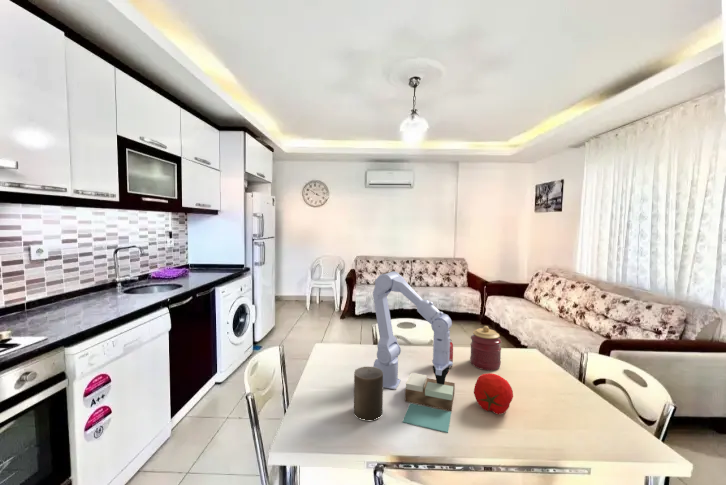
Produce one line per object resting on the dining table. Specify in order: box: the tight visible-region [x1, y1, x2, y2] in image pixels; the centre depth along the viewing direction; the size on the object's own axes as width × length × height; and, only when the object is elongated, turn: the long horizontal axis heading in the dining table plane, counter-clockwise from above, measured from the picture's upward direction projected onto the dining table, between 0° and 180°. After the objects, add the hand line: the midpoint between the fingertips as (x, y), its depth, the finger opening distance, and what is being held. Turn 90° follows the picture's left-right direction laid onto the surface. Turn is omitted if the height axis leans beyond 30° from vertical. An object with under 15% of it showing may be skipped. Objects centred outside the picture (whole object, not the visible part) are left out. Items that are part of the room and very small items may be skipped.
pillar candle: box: [353, 366, 384, 421], centre depth 104 cm, size 10×10×15 cm
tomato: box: [473, 372, 514, 415], centre depth 107 cm, size 13×13×13 cm
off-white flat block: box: [405, 372, 428, 392], centre depth 115 cm, size 9×6×2 cm, turn 159°
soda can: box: [449, 338, 454, 369], centre depth 139 cm, size 7×7×12 cm
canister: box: [469, 325, 503, 371], centre depth 141 cm, size 13×13×18 cm
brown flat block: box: [404, 377, 456, 412], centre depth 114 cm, size 16×12×4 cm
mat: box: [402, 402, 452, 434], centre depth 102 cm, size 14×11×1 cm
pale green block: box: [425, 382, 453, 400], centre depth 109 cm, size 9×6×2 cm, turn 70°
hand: (440, 386), depth 113 cm, fingers closed
